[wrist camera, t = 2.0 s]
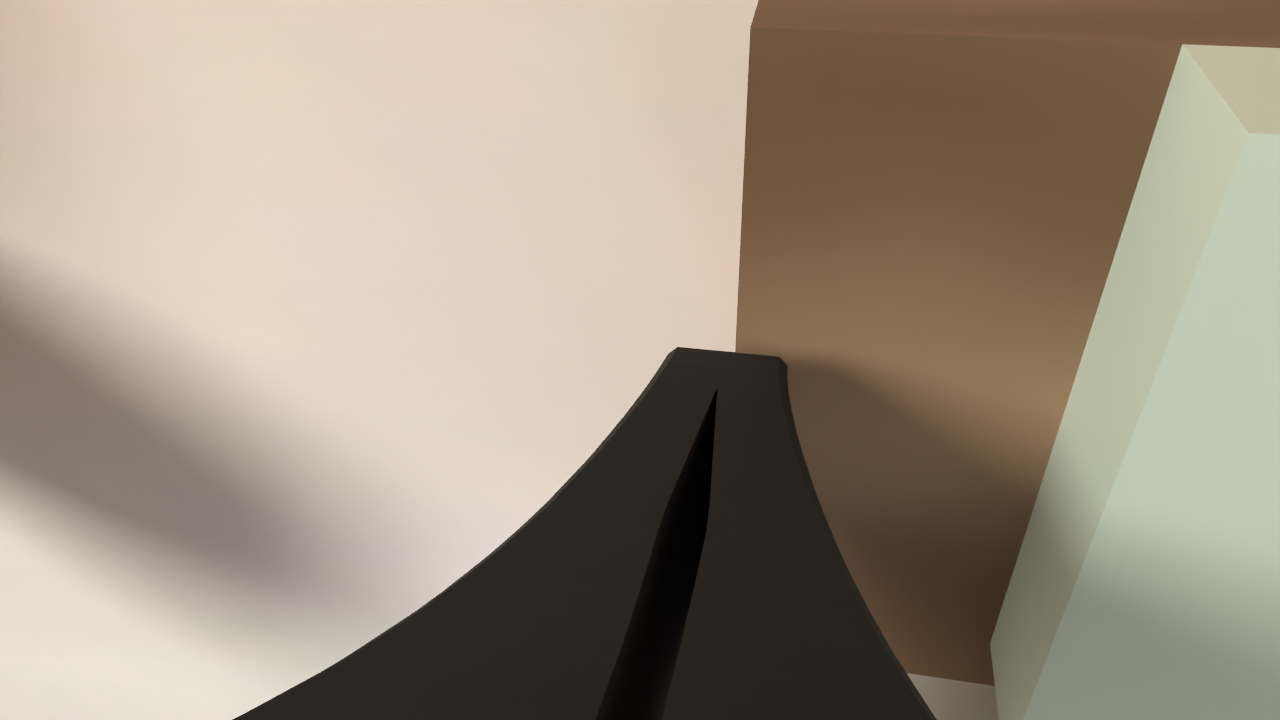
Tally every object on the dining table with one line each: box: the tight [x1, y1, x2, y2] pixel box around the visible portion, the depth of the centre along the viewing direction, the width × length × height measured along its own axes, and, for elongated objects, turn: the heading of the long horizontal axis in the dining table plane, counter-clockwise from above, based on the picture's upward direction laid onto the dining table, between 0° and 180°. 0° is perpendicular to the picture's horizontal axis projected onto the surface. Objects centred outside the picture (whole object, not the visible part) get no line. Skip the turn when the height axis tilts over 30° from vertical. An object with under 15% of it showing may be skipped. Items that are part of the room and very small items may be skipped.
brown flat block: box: [735, 0, 1280, 686], centre depth 15 cm, size 16×12×4 cm
